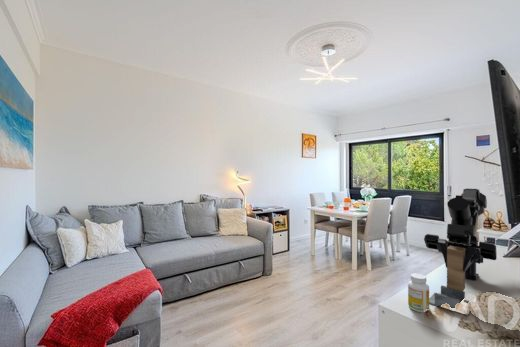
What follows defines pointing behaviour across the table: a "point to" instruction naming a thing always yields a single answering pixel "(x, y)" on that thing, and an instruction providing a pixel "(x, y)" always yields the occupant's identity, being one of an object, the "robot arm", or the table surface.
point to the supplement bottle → (418, 293)
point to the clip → (447, 297)
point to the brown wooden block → (455, 268)
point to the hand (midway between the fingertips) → (455, 268)
